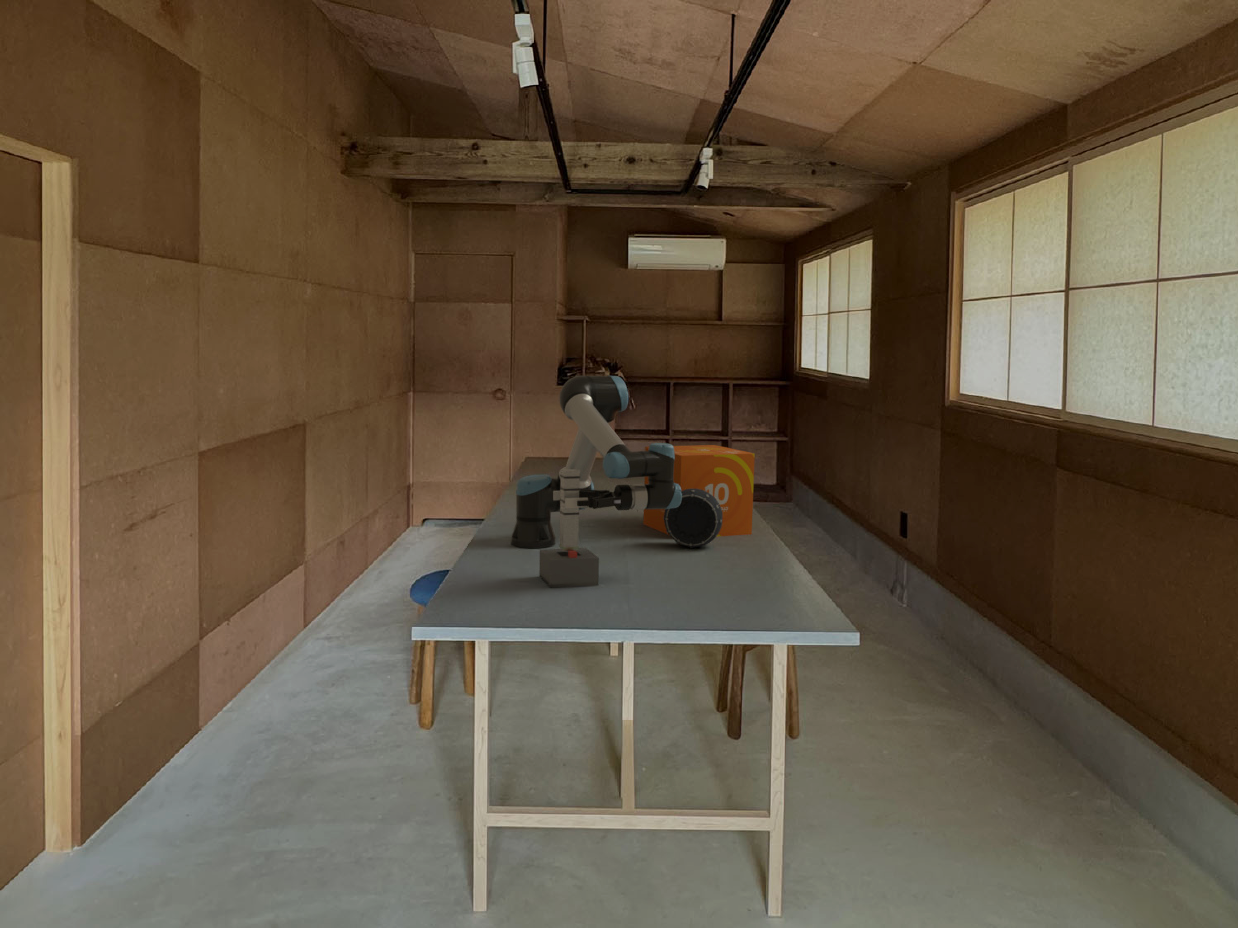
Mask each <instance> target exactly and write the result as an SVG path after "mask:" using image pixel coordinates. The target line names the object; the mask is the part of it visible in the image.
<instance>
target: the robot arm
mask: <svg viewBox="0 0 1238 928" xmlns="http://www.w3.org/2000/svg"><path fill="white" fill-rule="evenodd" d="M558 396H559V398H558V399H559V406H560V408H561V410H562V412H563V413H564V415H565V416H566V418H567V419H569V420H571V421H573V422H575V423H576V425H577V426H578V430H577V432H576V435H575V438H574V442H573V444H572V447H571V449H570V453H569V456H568V459H567V462H566V465H565V466H564V467H562V468H561V469H576V470H578V471H580V475H579V476H580V478H579V488H580V491H579V498H565V508H579V511H580V510H586V509H587V508H590V509H594V510H597V509H602V508H603V509H604V508H610V507H615V509H616V510H617V511H630V510H631V511H634V510H635V511H636V512H641V510H644V509H670V508H677V507H678V506H679V505H680V504H681V501H682V493H681V487H680V485H679V484H677V483H674V479H673V475H674V460H675V454H674V447H673V446H674V445H673V444H671V443H667V442H655V443H654V442H653V443H650V444H649V446H648V447H649V449H648V450H649V451H645V450H640V451H637V450H636V451H631V449H629V447H628V446H627V445H626V444H625V443H624V442H623V440H622V439H621V438H620V436H618V434H617V433H616V432H615V430H614V429H613V428H612V427H611V425H610V424H611V423H613V421H614V420H615V418H616V415H617V413H621V412H623V411H626V409H627V407H628V404H629V392H628V388H627V385H626V382H625V381H624V380H623V378H622V377H620V376H617V375H609V374H608V375H577V376H573V377H572V378H569V379H568V380H567V381H566V382H565V383H564V384H563V386H562V387H561V389H560V392H559V395H558ZM598 453H599V454H600V456H601V457H602V458H603V460H602V469H603V471H604V475H606V477H607V478H609V479H617V480H619V479H620V480H621V479H629V478H632V479H633V478H643V477H644V478H645V477H648V481H649V483H648V484H644V483H631V484H617V485H615V487H614V490H613V491H610V490H609V489H603V490H602V489H601V490H600V489H595V487H594V486H595V485H594V482H593V481H592V477H591V476H590V475H591V472H592V468H593V467H594V463H595V460H596V458H597V455H598ZM561 469H560V470H559V472H558V474H557V477H555V478H554V477H553V478H552V476H551V475H550V474H542V473H541V474H531V475H526V476H523V477H521V478H520V479H518V480H517V482H516V491H515V494H516V509H515V510H516V515H515V517H516V522H515V525H514V528H513V531H512V533H511V537H510V544H511V546H514V547H517V548H523V549H525V548H526V549H543V548H544V549H545V548H550V547H553V546H555V545H556V535H555V532H554V529H553V526H552V520H551V515H552V514H551V513H560V486H561V477H560V474H561Z"/></svg>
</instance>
